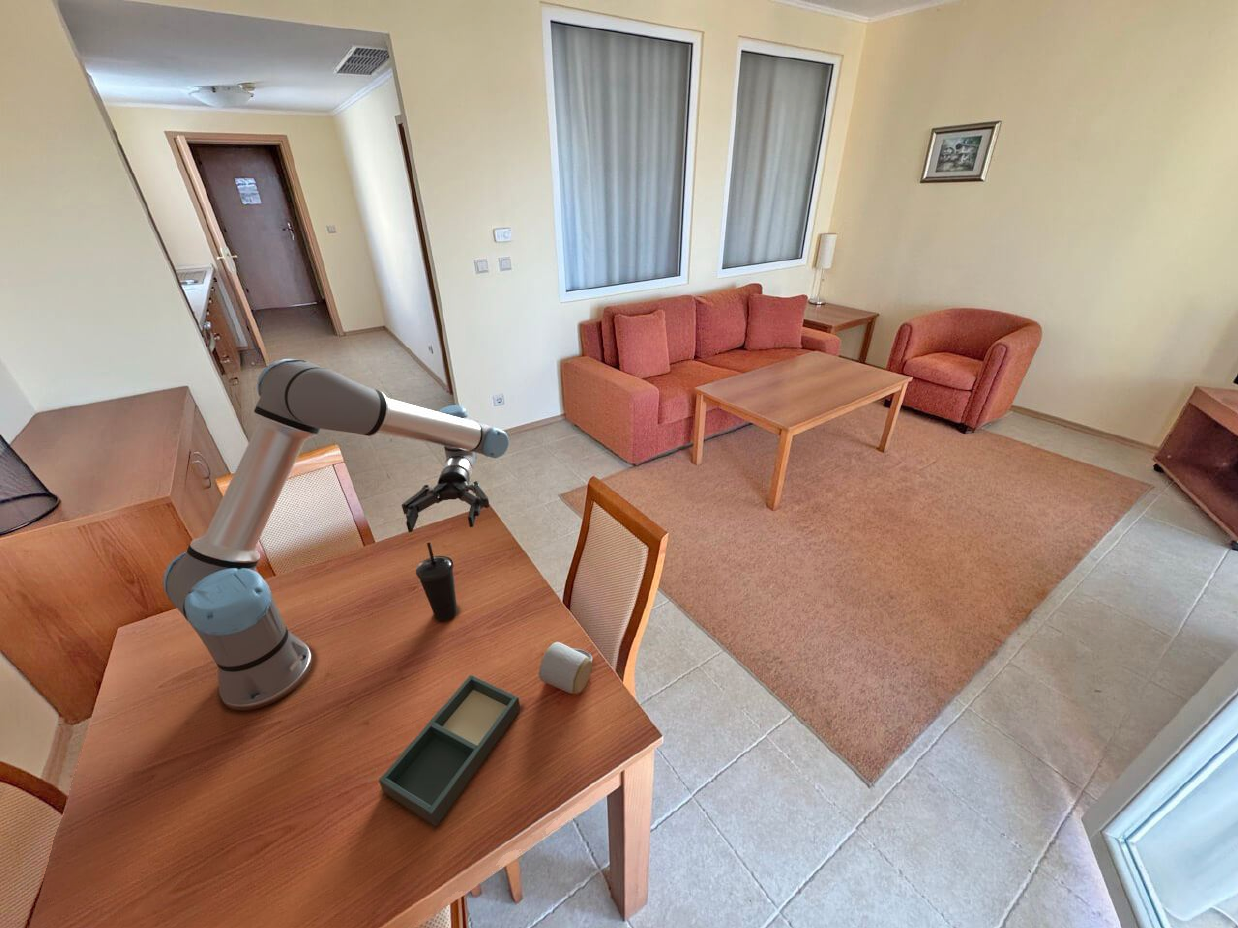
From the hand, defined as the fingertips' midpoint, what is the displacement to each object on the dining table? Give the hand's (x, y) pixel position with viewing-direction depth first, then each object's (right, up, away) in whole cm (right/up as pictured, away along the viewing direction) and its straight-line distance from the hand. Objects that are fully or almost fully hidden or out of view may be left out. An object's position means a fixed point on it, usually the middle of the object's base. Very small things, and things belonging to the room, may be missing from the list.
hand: (439, 524), depth 113 cm
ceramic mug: (+31, -28, -15) cm, 44 cm away
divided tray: (+13, -35, -27) cm, 46 cm away
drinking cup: (+1, -20, 0) cm, 20 cm away
